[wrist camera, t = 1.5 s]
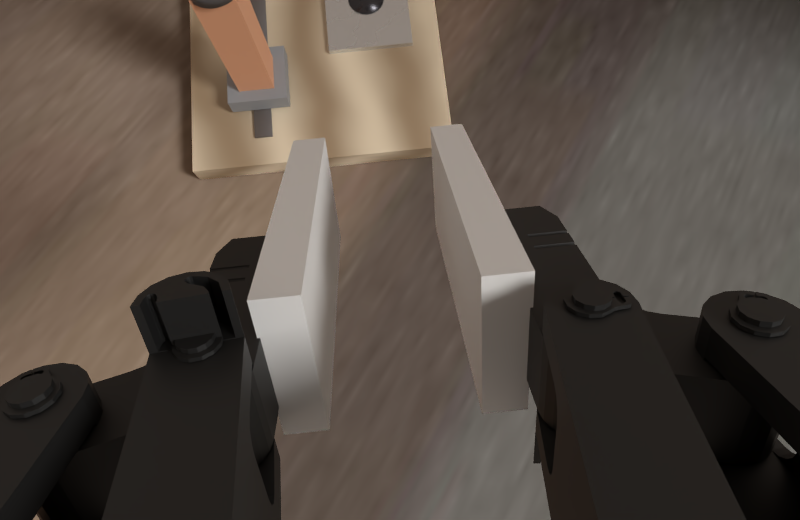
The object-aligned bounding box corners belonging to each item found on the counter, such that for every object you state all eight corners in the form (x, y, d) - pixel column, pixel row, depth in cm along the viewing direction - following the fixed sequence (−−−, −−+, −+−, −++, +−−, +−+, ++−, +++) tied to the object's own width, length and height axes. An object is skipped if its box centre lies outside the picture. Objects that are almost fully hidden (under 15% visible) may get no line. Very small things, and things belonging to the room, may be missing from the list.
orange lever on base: (287, 55, 40) (243, -68, 29) (290, 106, 39) (246, -2, 28) (231, 61, 40) (166, -61, 29) (233, 112, 39) (167, 5, 28)
